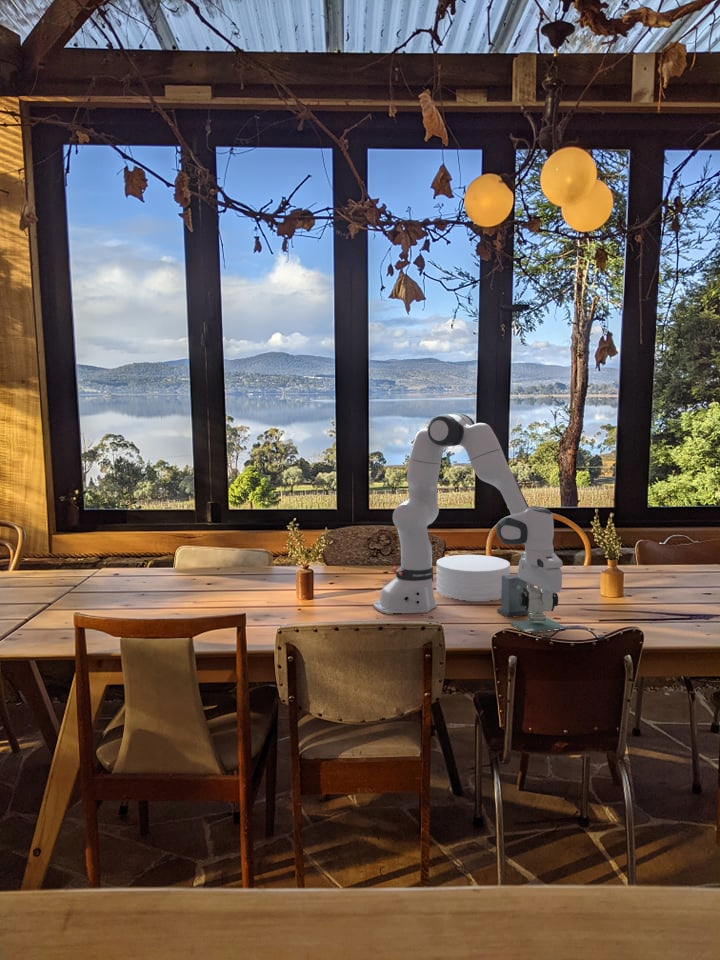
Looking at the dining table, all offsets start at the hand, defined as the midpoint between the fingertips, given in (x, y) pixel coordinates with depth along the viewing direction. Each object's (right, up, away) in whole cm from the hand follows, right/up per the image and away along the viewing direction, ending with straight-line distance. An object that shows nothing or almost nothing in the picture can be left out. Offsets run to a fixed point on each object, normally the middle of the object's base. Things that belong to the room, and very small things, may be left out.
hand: (538, 599), depth 219 cm
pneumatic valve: (0, -8, +2) cm, 8 cm away
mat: (0, -9, +1) cm, 9 cm away
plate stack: (-14, -5, +44) cm, 47 cm away
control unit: (-5, -8, +15) cm, 18 cm away
